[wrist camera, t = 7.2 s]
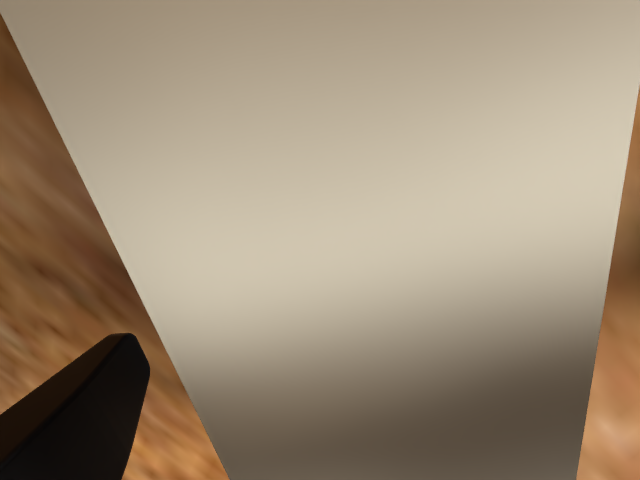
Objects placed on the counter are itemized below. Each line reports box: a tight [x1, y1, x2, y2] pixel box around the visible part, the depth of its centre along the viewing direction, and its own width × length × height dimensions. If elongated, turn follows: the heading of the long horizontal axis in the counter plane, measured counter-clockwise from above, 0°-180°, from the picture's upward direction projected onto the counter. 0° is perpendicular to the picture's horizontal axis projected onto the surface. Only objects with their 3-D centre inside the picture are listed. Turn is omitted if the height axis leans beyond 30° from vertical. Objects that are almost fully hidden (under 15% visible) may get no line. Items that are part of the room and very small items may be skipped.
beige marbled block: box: [0, 0, 640, 480], centre depth 8 cm, size 16×5×4 cm, turn 11°
